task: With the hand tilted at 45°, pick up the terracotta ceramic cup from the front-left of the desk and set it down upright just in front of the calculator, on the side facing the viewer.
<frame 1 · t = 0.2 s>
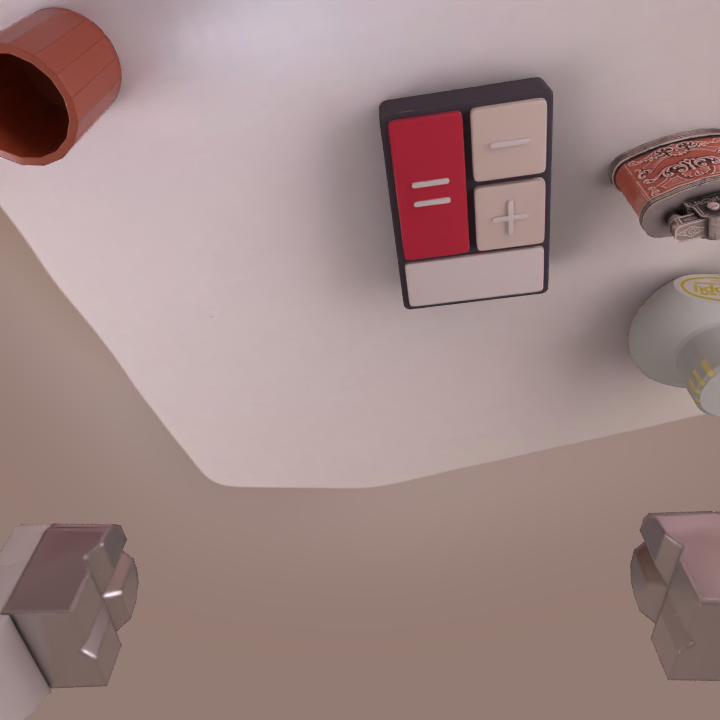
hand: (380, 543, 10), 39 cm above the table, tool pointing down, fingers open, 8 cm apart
lighter: (666, 157, 46), on the table
cup: (69, 63, 42), on the table
calculator: (465, 190, 48), on the table
air freshener: (684, 309, 54), on the table
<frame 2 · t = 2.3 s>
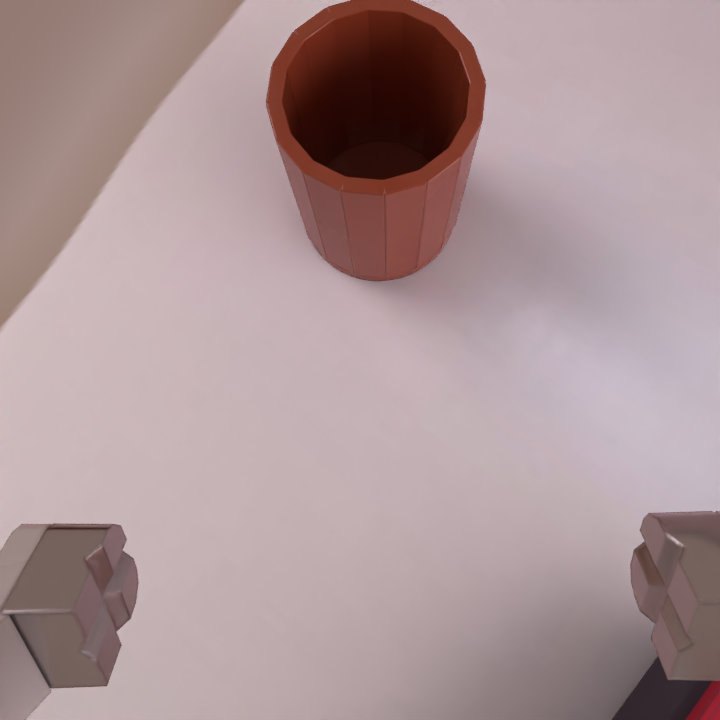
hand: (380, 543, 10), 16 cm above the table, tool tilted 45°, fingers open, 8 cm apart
cup: (379, 208, 28), on the table
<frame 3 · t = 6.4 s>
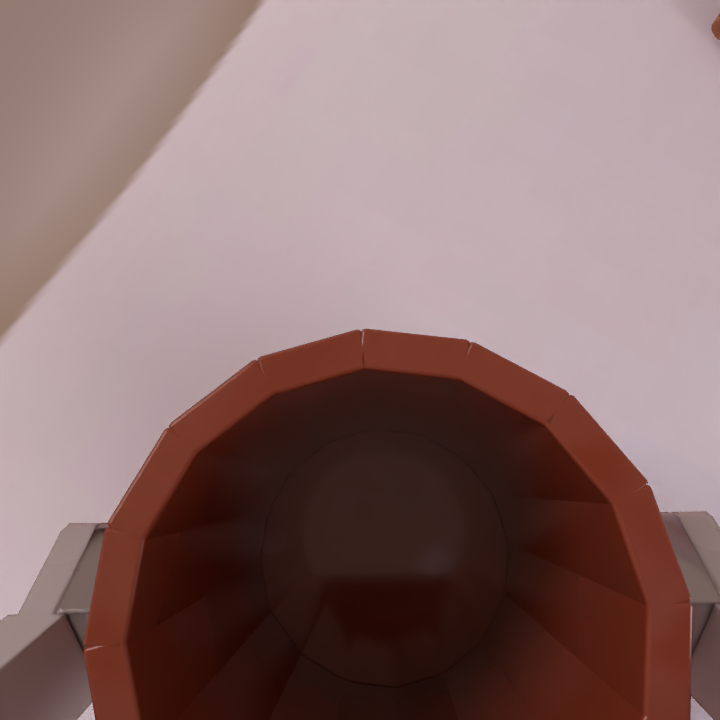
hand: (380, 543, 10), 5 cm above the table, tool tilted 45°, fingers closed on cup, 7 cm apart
cup: (383, 550, 15), on the table, touching gripper
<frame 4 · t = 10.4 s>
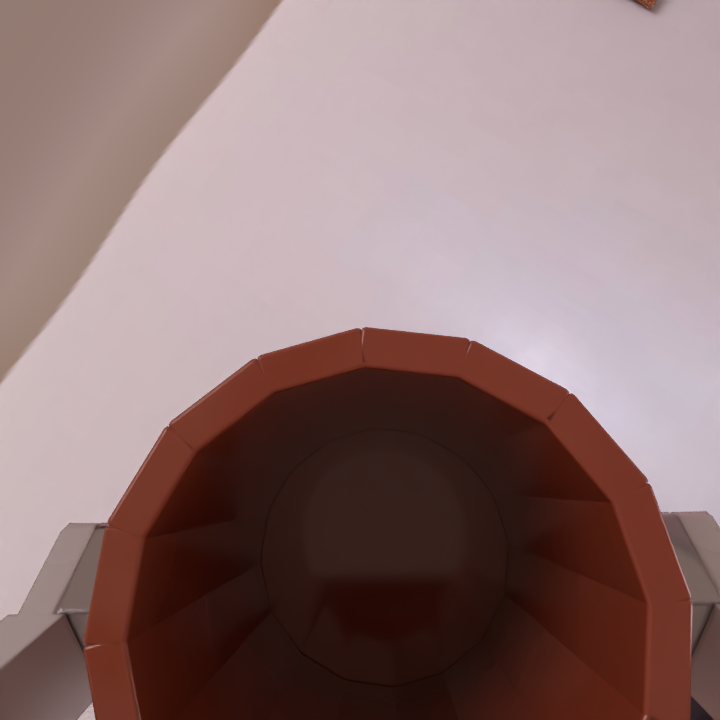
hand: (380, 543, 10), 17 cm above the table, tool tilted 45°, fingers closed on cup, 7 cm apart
cup: (383, 550, 15), point 11 cm above the table, touching gripper
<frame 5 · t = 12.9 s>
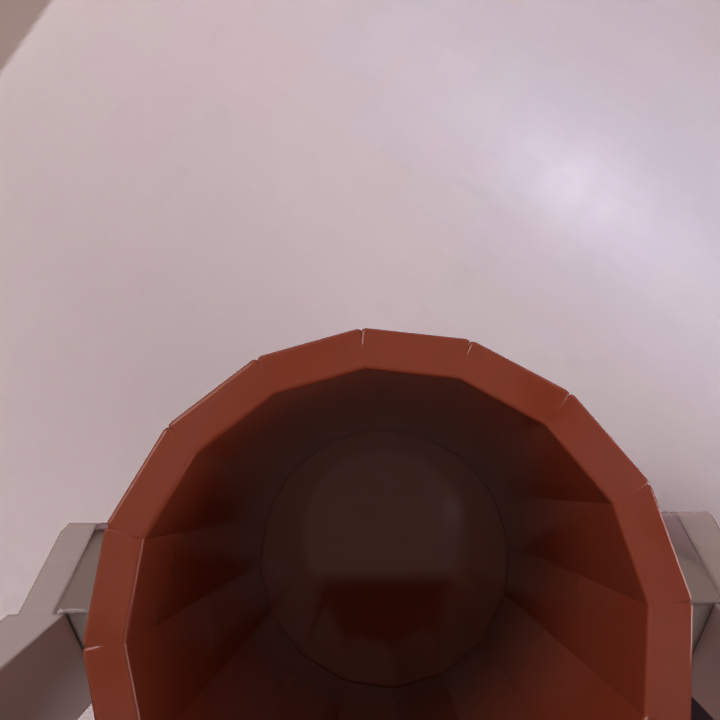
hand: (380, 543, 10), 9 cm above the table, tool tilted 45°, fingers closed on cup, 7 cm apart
cup: (383, 550, 15), point 4 cm above the table, touching gripper
when the fingers open (5 cm above the table, at t = 14.7 s): cup stays where it is, on the table.
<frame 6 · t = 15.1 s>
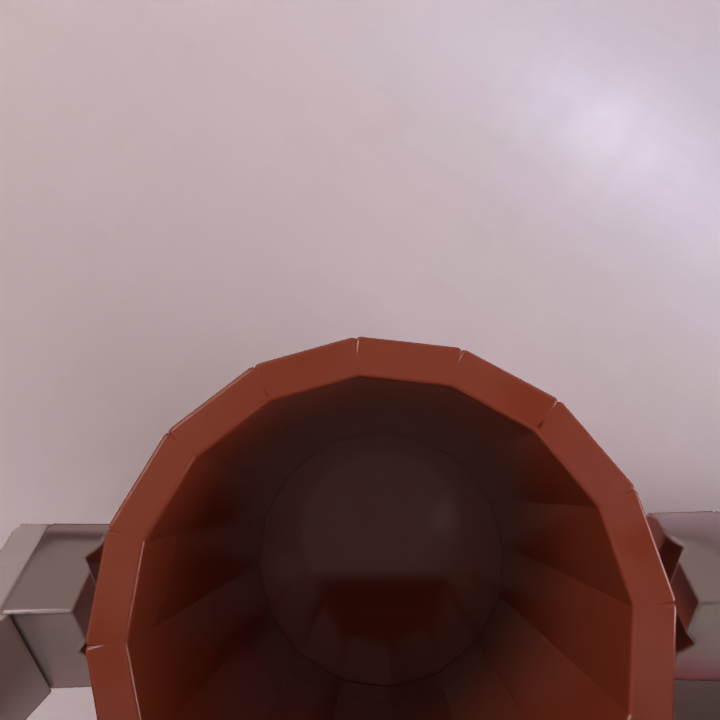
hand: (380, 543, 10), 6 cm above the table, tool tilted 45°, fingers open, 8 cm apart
cup: (380, 552, 16), on the table
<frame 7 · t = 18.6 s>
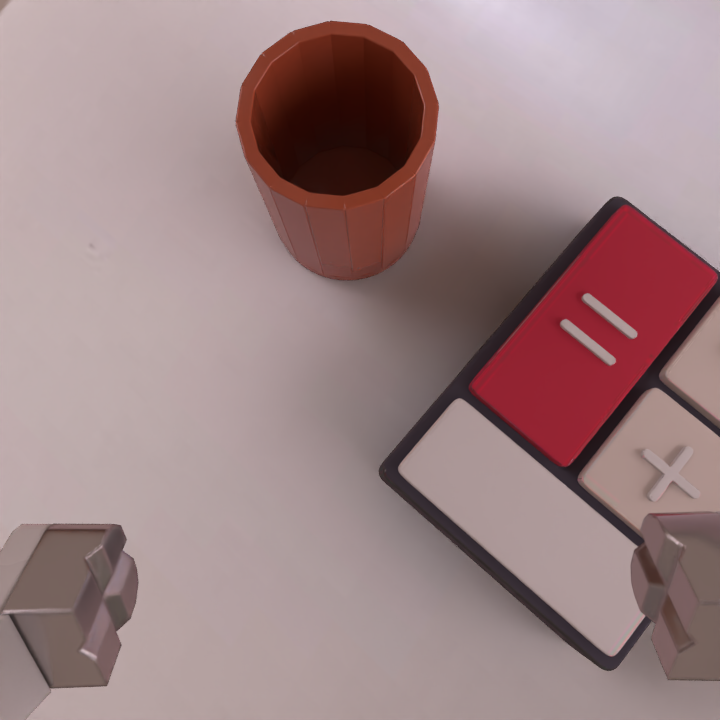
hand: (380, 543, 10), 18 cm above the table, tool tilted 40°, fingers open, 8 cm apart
cup: (347, 210, 29), on the table
calculator: (583, 423, 28), on the table
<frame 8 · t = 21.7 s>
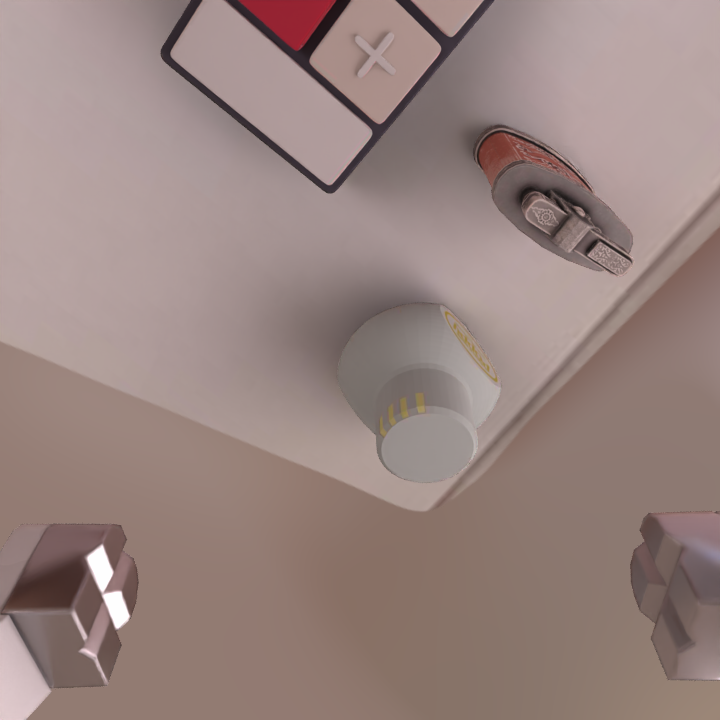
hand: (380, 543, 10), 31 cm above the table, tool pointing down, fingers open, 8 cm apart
lighter: (532, 171, 38), on the table
air freshener: (416, 352, 45), on the table
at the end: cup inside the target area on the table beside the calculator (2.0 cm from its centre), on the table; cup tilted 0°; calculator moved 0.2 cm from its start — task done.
